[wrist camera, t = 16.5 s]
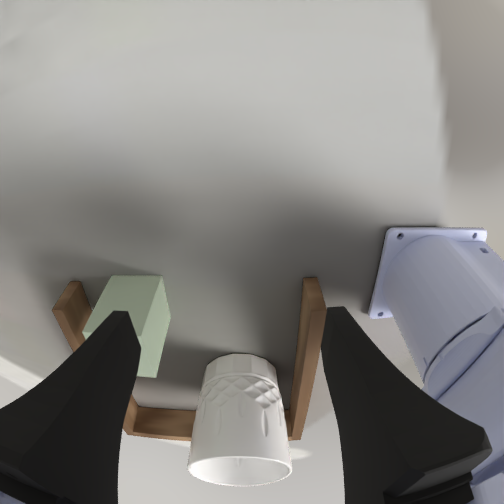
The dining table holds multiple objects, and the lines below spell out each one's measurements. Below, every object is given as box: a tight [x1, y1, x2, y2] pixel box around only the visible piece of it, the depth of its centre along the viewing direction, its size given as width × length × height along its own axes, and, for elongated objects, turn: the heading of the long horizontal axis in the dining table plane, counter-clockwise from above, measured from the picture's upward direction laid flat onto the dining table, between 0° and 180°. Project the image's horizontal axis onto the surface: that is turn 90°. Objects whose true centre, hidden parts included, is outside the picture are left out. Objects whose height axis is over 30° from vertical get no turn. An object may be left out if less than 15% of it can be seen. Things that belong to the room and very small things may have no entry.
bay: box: [52, 277, 327, 441], centre depth 26 cm, size 19×19×4 cm
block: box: [82, 275, 171, 378], centre depth 21 cm, size 4×4×6 cm
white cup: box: [187, 354, 292, 486], centre depth 24 cm, size 8×8×10 cm
